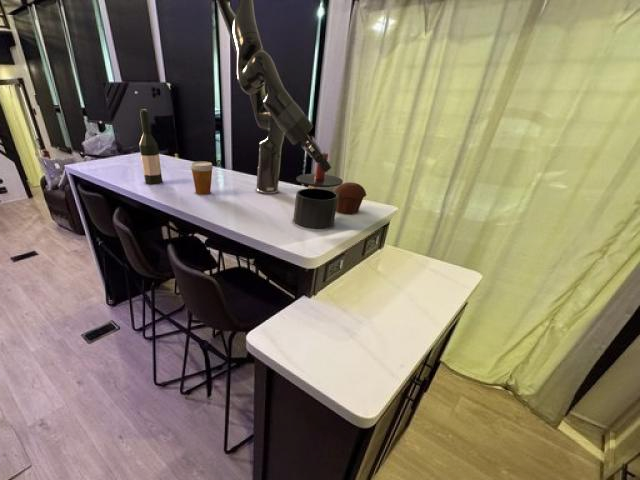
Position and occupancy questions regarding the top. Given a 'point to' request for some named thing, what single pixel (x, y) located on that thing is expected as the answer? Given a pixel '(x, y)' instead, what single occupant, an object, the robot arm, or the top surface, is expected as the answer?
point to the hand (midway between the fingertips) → (327, 168)
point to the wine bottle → (149, 153)
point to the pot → (315, 208)
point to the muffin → (349, 198)
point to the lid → (319, 177)
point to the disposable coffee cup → (202, 177)
